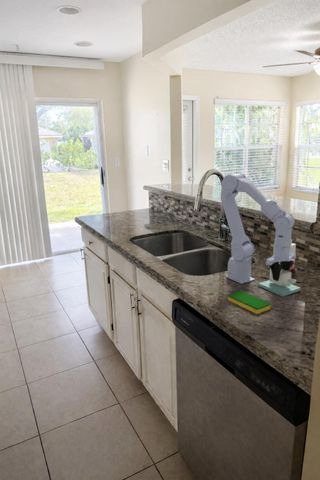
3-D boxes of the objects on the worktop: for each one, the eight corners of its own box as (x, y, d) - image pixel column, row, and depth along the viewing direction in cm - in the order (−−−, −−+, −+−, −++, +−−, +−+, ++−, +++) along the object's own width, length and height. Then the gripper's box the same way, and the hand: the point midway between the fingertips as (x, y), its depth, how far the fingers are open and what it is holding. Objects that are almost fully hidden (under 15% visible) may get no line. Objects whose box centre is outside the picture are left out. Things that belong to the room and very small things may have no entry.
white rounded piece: (267, 280, 139) (268, 268, 137) (274, 278, 141) (275, 266, 139) (289, 289, 130) (291, 276, 128) (297, 286, 132) (298, 274, 130)
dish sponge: (240, 296, 131) (241, 290, 131) (270, 309, 120) (271, 303, 120) (227, 300, 127) (227, 294, 127) (256, 315, 116) (257, 308, 116)
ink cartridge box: (294, 268, 158) (297, 237, 154) (289, 271, 155) (292, 239, 151) (276, 264, 164) (278, 234, 160) (271, 267, 160) (274, 236, 157)
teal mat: (258, 286, 139) (258, 283, 139) (275, 280, 144) (275, 278, 144) (282, 296, 129) (283, 293, 129) (300, 290, 134) (300, 287, 134)
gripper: (277, 251, 125) (275, 286, 129) (303, 245, 132) (300, 278, 136) (262, 246, 131) (260, 280, 135) (288, 241, 138) (285, 273, 142)
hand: (279, 279), depth 136 cm, fingers closed on white rounded piece, 4 cm apart
